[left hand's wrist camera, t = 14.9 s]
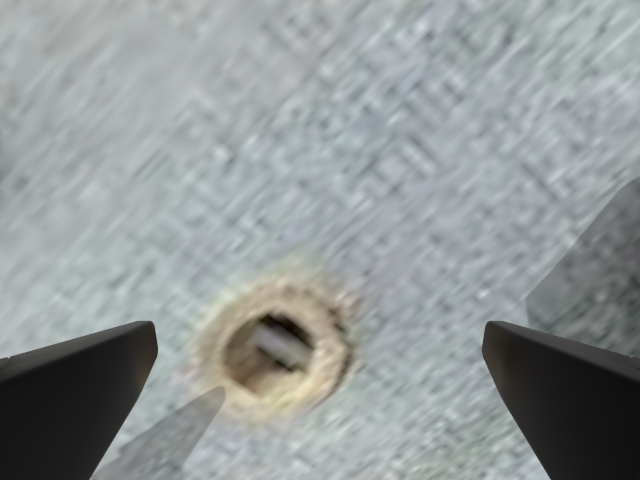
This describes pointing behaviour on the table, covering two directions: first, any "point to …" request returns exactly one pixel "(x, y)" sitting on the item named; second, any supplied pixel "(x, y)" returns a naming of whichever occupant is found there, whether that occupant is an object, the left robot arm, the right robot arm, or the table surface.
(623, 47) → the table surface
